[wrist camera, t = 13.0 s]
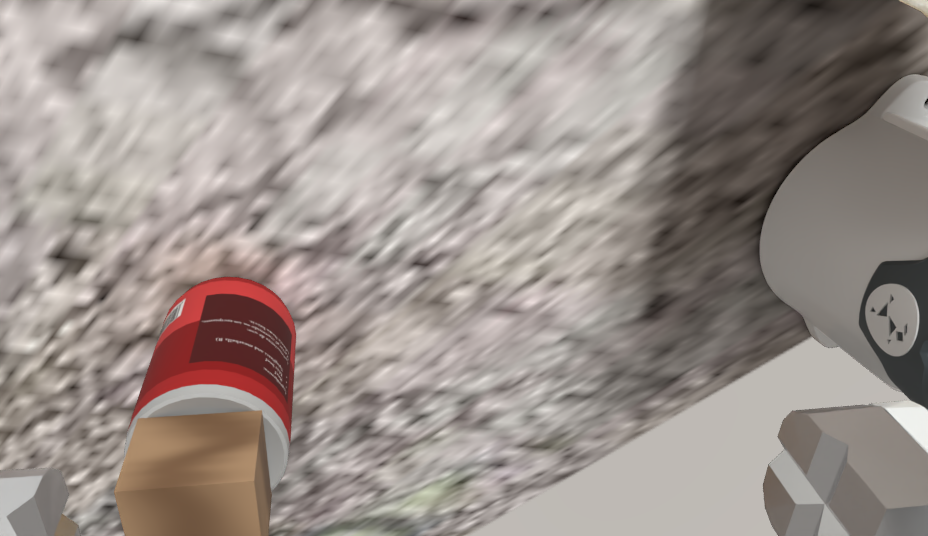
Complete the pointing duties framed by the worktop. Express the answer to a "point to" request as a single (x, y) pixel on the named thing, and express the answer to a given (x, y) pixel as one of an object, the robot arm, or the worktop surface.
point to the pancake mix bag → (918, 5)
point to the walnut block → (196, 476)
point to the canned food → (225, 361)
